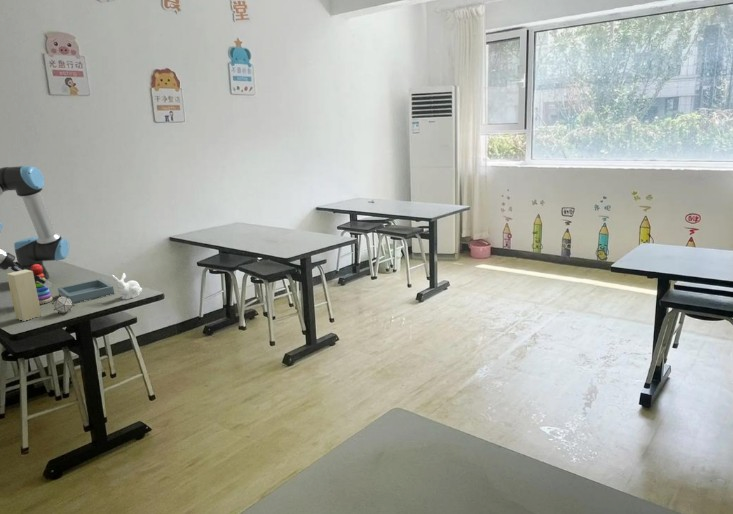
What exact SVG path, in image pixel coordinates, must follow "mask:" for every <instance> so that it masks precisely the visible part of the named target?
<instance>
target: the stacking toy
mask: <svg viewBox="0 0 733 514" xmlns="http://www.w3.org/2000/svg"><path fill="white" fill-rule="evenodd" d="M30 271H33V274H35V275H37V276H40V277H41V278H43V277H44V274H43V273H42V271H43V268H42V266H41V265H39V264H34V265H32V266H31V268H30ZM43 279H45V278H43ZM35 285H36V290H37V295H38V300H39V305H44V303H45V304H47V303H50V302H52V301H53V297H52V293H51V290H50V288H47V287H45V286H43V285H41V284H40V283H38V282H36V283H35Z"/></svg>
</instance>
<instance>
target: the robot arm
mask: <svg viewBox="0 0 733 514" xmlns="http://www.w3.org/2000/svg"><path fill="white" fill-rule="evenodd" d="M44 186H45V178H44V174H42V171H41V170H40V169H39V168H37V167H35V166H31V165H29V166H28V165H24V166H23V165H22V166H21V165H19V166H4V167H0V197H1V196H2V195H3V193H5V192H7V191H15V192H16V195H17V197H20V198H22V201H23V204H24V206H25V208H26V210H27V214H28V215H29V218H30V220H31V222H32V224H33V227H34V230H35V231H36V232H35V233H36V234H37V236H34V237H33V236H31V237H28V238H27V237H26V238H24V239H20V240H17V241H16V242H14V244H13V247H14V252H15V255H13V254H11V253H10V252H7V250H5V249H2V248H1V247H0V269H1V270H3V271H5V270H8V268H10V270H12V271H13V272H16V271H21V270H30V268H31V266H32V265H34V264H39V265H41V266H42V268H43V271H42V273H43V274H44V277H43V278H45V279H43V278H41V277H40V276H37V275H35V274H33V275H34V280H35V283H36V282H38V283H40V284H41V285H43V286H45V287H47V288H48V289H50V288H51V286H52V285H53V283H52V282H50V281H49V279H50V273H49V272H48V269H47V268H46V267H45V265H44V262H47V261H48V262H49V261H50V262H52V261H56V262H57V261H63V260H65V259H67V257H68V256H69V253H70V243H69V241H68V239H66V238H63V237H62V236H61V233H59V232H57V231H56V229H55V226H54V224H53V222H52V218H51V217H50V214H49V211H48V208H47V206H46V204H45V203H46V202H45V200H44V198H43V195H42V194H41V193H42V191H43V188H44ZM2 230H3V223H2V222H1V221H0V232H2ZM15 260H16V261H15Z"/></svg>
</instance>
